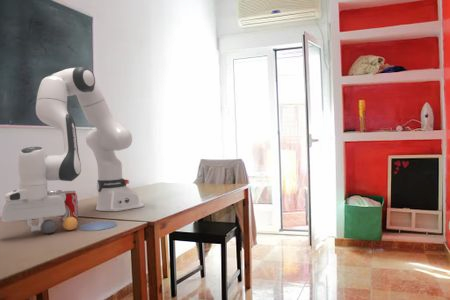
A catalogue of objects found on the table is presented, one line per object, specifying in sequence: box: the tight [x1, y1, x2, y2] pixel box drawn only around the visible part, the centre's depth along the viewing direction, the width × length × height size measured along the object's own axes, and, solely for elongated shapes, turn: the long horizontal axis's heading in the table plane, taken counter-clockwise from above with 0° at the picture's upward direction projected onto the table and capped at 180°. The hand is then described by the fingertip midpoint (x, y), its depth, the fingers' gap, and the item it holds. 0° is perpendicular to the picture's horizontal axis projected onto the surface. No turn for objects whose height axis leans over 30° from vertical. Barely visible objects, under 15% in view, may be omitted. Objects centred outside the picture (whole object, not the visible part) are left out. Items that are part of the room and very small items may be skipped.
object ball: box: [62, 217, 78, 231], centre depth 136 cm, size 5×5×5 cm
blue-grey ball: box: [41, 218, 58, 235], centre depth 132 cm, size 5×5×5 cm
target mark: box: [78, 220, 118, 232], centre depth 141 cm, size 14×14×1 cm
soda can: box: [59, 190, 79, 222], centre depth 153 cm, size 7×7×12 cm
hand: (35, 230), depth 131 cm, fingers closed
